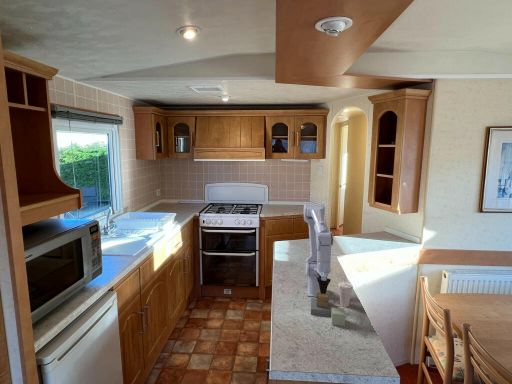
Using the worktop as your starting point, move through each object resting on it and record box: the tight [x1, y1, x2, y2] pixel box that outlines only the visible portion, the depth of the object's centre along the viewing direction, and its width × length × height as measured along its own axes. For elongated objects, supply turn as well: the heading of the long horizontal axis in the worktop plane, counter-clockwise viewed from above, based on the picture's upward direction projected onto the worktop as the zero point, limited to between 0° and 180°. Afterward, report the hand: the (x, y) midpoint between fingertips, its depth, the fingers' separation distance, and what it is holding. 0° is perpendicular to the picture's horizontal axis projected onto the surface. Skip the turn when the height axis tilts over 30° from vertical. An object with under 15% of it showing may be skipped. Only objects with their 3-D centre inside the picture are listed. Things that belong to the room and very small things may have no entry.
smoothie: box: [337, 274, 354, 308], centre depth 142 cm, size 6×6×14 cm
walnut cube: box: [316, 290, 330, 308], centre depth 138 cm, size 5×5×5 cm
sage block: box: [330, 306, 346, 327], centre depth 128 cm, size 5×5×5 cm
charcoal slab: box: [310, 297, 335, 317], centre depth 138 cm, size 10×10×3 cm
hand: (322, 289), depth 137 cm, fingers open, 7 cm apart
